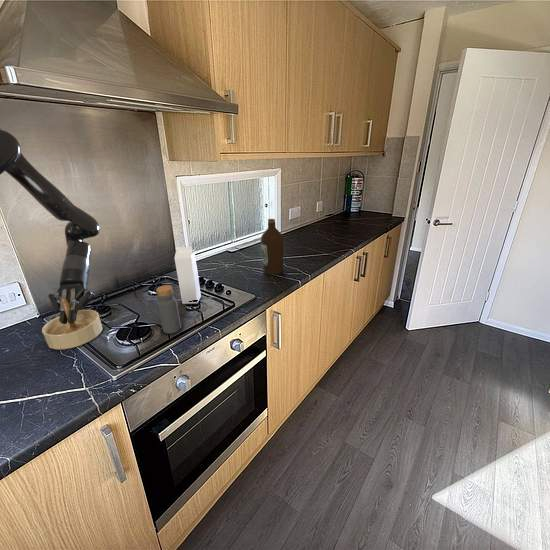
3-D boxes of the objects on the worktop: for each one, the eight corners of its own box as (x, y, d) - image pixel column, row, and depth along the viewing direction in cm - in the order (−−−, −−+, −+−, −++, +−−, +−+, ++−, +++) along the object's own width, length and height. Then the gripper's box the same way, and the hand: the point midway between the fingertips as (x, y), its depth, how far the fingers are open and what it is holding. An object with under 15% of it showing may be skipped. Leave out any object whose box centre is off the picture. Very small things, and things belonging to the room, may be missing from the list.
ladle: (63, 338, 93) (50, 302, 88) (74, 330, 97) (61, 295, 92) (78, 339, 92) (65, 302, 87) (88, 330, 97) (76, 295, 92)
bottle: (162, 326, 99) (154, 286, 93) (180, 322, 101) (173, 282, 95) (163, 335, 94) (154, 293, 88) (182, 331, 96) (174, 290, 90)
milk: (186, 297, 118) (177, 244, 110) (201, 296, 118) (193, 244, 110) (182, 304, 113) (172, 249, 104) (197, 303, 113) (189, 249, 104)
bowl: (35, 350, 89) (28, 335, 86) (71, 323, 102) (66, 309, 100) (83, 351, 87) (77, 336, 85) (112, 323, 101) (108, 309, 99)
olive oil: (279, 265, 147) (278, 216, 137) (287, 273, 138) (286, 220, 128) (259, 268, 144) (256, 218, 134) (266, 276, 135) (263, 223, 125)
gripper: (46, 268, 93) (35, 322, 87) (91, 265, 94) (83, 318, 88) (61, 277, 100) (51, 327, 93) (102, 274, 101) (96, 324, 95)
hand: (67, 323), depth 91 cm, fingers closed on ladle
